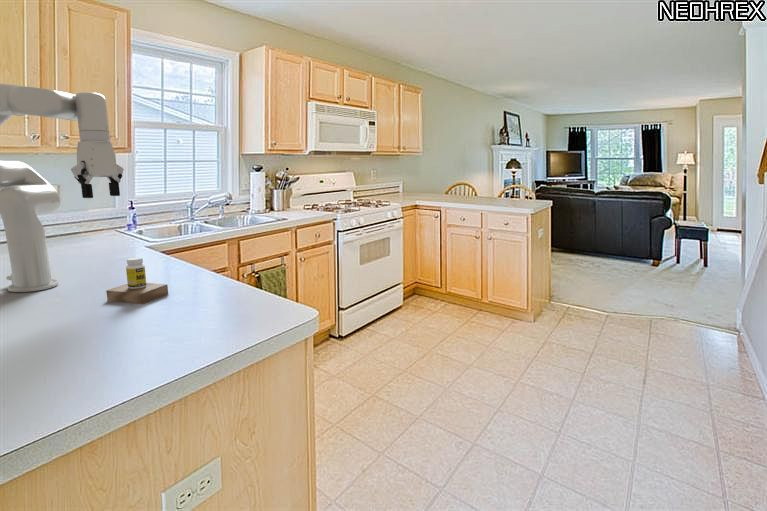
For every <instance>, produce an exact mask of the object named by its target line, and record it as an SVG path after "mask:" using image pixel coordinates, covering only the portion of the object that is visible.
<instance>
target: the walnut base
mask: <svg viewBox="0 0 767 511" xmlns="http://www.w3.org/2000/svg"><path fill="white" fill-rule="evenodd" d="M105 292H106V293H105V294H106V298H107V299H106V300H107V301H108V302H116V303H117V302H118V303H126V304H127V303H129V304H140V305H142V304H143V305H145V304H146V303H149V302H151V301H155V300H157V299H160V298H162V297H165V296H167V295H169V286H168V284H166V283H154V282H146V287H144V288H140V289H129V288H128V283H126V284H123V285H120V286H116V287H113V288H109V289H107V290H106V291H105Z"/></svg>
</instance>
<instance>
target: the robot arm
mask: <svg viewBox="0 0 767 511" xmlns="http://www.w3.org/2000/svg"><path fill="white" fill-rule="evenodd" d="M25 115H26V116H34V117H41V118H42V117H43V118H51V119H57V120H58V119H60V120H66V121H73V122H74V121H77V125H78V133H79V141H78V142H77V145H76V146H77V147H76V165H75V166H73V167H71V168H70V171H71V173H72V175H73V177H74V179H75V180H77V181H78V182H77V183H78V184H79V185H80V188H81V196H82V198H83V199H93V198H94V192H93V185H92V183H91V182H92V179H93V178H107V180H108V181H109V182H108V190H109V196H111V197H120V196H121V193H120V192H121V190H120V183H121V180H122V177H123V173H124V167H122V166H120V165H119V164H117V159H116V155H115V150H114V146H113V143H112V142H111V139H112V136H111V134H110V126H109V117H108V109H107V99H106V98H105V95H103V94H101V93H97V92H89V91H85V92H83V91H82V92H77V93H76V94H74V93H69V92H64V91H59V90H56V89H55V90H54V89H49V88H42V87H33V86H23V85H18V84H17V85H16V84H7V83H0V127H1V126H3V124H4V123H6V121H7V122H8V120H9V119H10V118H11V117H12V116H16V117H23V116H25ZM60 206H61V196H60V194H59V192H58V191H57V189H56V188H55V187H54V186H53V185H51V183H50V182H48V181H47V180H46V179H45V178H44V177H42V176H41V175H40V174H39V173H38V172H37V171H36V170H35V169H33V168H32V167H31V166H30V165H29V164H26V163H25V162H22V161H19V160H15V159H14V160H13V159H0V218H1V220H2V224H3V229H4V232H5V239H6V245H7V251H8V252H7V253H8V256H9V257H8V258H9V263H10V270H11V271H10V272H11V273H10V275H7V276H6V278H5V279H6V280H7V281H11V284H10V285H8V286H7V290H8V292H11V293H28V292H30V293H31V292H37V291H38V292H39V291H44V290H48V289H52V288H55V287H57V286H58V285H59V280H57V279H52V272H51V265H50V260H49V258H50V257H49V252H48V245H47V238H46V232H45V229H44V225H43V224H42V221H41V220H40V218H39V217H38V216H40V215H47V214H52V213H55V212H56V211H57V210H58V209H59V208H60Z"/></svg>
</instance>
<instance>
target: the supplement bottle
mask: <svg viewBox="0 0 767 511" xmlns="http://www.w3.org/2000/svg"><path fill="white" fill-rule="evenodd" d="M143 261H144V260H143V257H139V256H138V257H130V258H127V259H126V264H127V265H126V266H125V269H126V279H127V280H126V281H127V284H128V288H129V289H140V288H144V287H146V283H147V277H146V269H145V268H146V266H145V264H144V262H143Z"/></svg>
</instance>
